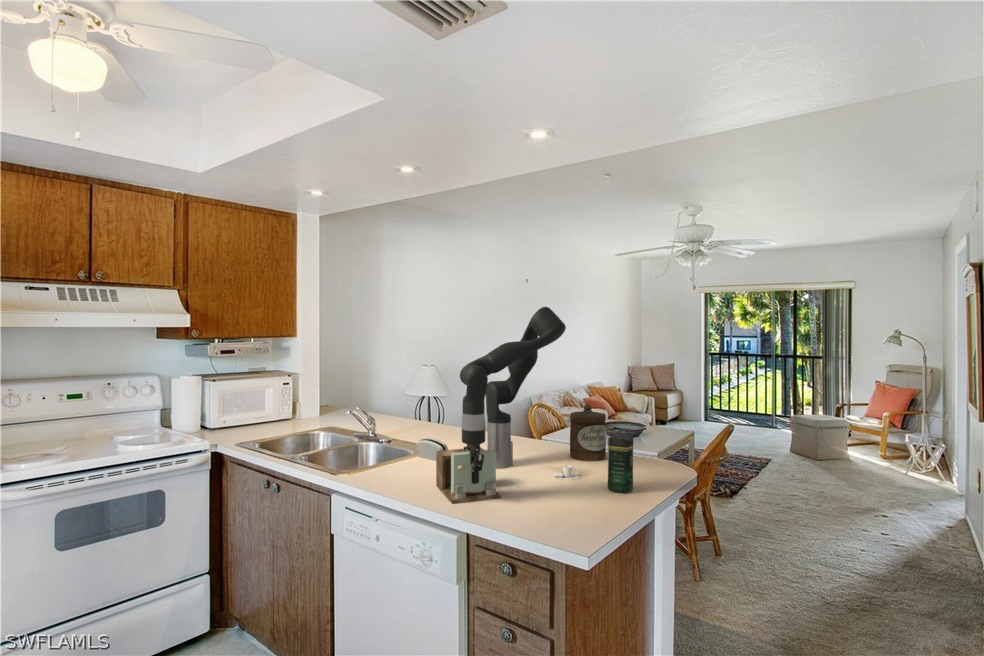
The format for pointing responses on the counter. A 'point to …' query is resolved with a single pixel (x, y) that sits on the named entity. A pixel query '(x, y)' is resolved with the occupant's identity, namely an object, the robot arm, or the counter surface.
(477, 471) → the robot arm
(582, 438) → the wooden container
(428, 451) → the grey rounded block
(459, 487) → the cabinet
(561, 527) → the counter surface
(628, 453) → the coffee jar
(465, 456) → the door
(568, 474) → the teacup and saucer
